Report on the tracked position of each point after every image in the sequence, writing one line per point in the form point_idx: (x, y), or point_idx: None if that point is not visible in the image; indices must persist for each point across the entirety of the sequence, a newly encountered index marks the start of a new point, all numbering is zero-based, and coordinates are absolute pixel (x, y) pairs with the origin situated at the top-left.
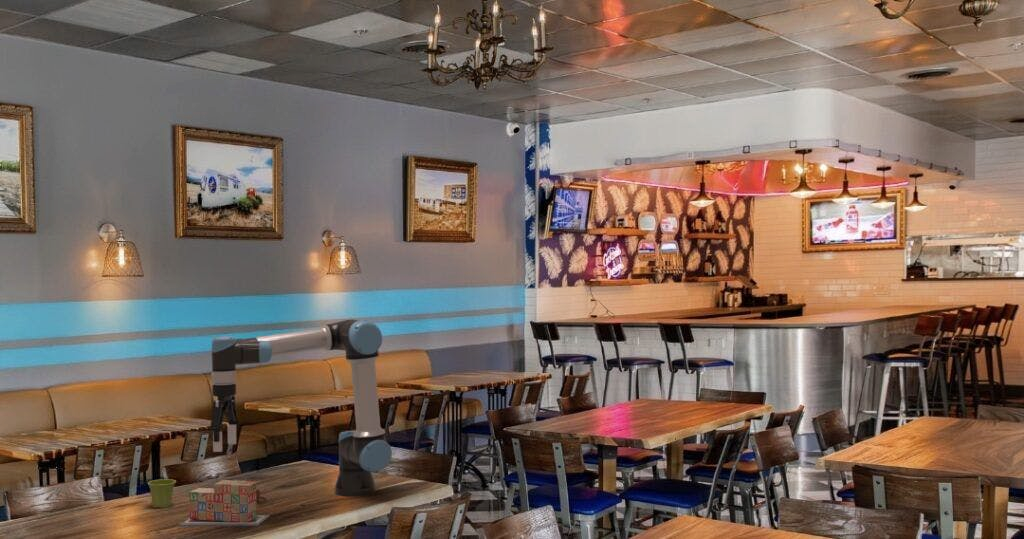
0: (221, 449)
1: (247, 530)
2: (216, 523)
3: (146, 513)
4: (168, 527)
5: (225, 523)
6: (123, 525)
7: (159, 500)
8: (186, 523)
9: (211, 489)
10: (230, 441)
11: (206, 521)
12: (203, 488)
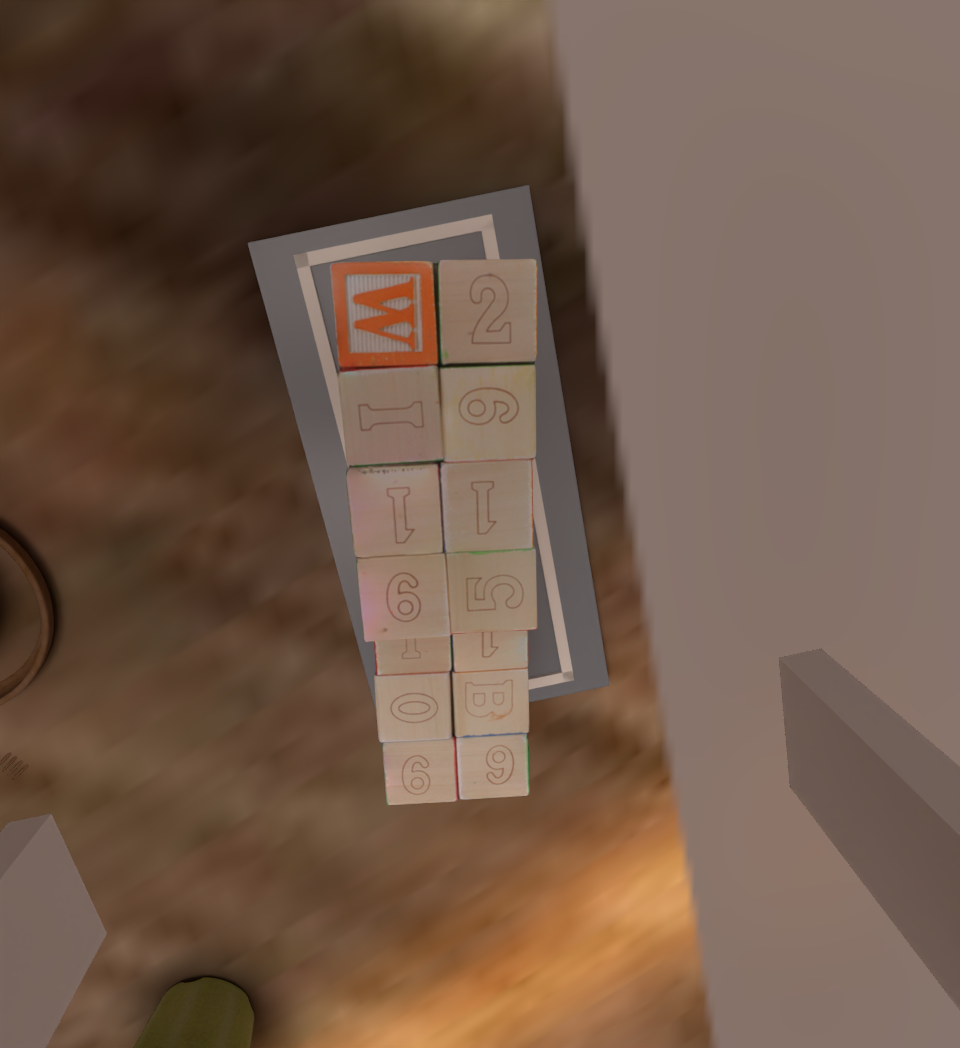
0: (841, 668)
1: (585, 234)
2: (541, 491)
3: (366, 991)
4: (602, 734)
5: None
6: (604, 949)
7: (243, 1037)
8: (573, 662)
9: (417, 685)
10: (64, 935)
11: None
12: (399, 763)
